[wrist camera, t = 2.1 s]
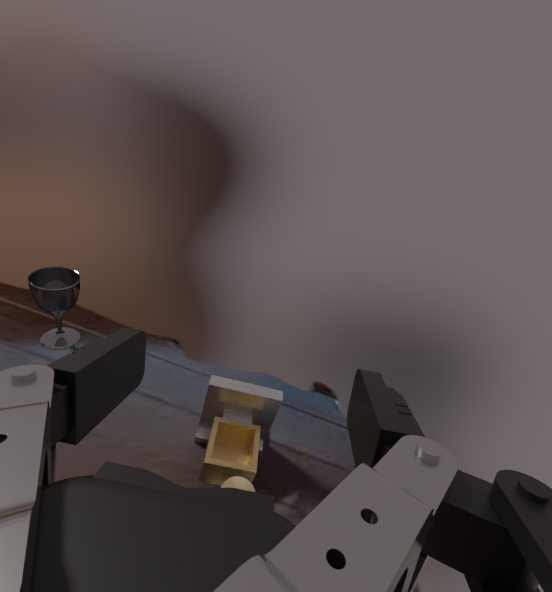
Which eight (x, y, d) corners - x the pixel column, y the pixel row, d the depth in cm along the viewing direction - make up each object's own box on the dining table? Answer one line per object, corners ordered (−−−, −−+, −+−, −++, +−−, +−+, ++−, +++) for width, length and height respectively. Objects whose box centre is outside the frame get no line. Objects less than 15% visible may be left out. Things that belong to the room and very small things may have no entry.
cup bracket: (255, 505, 50) (281, 456, 43) (180, 491, 49) (193, 438, 42) (262, 426, 62) (283, 377, 55) (202, 413, 61) (215, 361, 54)
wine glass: (89, 328, 70) (87, 271, 63) (72, 353, 64) (68, 292, 56) (49, 322, 69) (42, 262, 61) (28, 347, 62) (17, 283, 54)
